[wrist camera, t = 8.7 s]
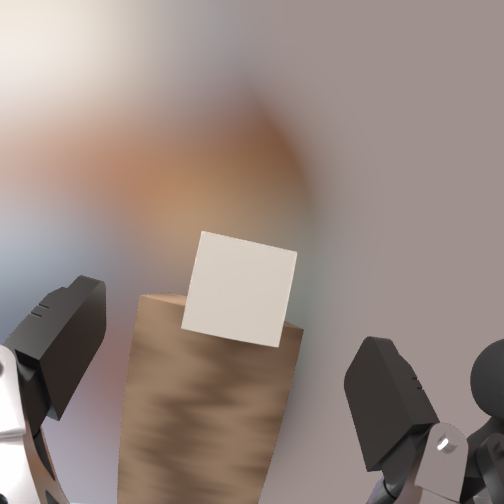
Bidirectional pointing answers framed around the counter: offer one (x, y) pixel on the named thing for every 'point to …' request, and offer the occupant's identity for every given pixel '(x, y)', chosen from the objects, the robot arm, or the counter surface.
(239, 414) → the walnut stand
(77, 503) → the counter surface
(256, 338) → the white bar
